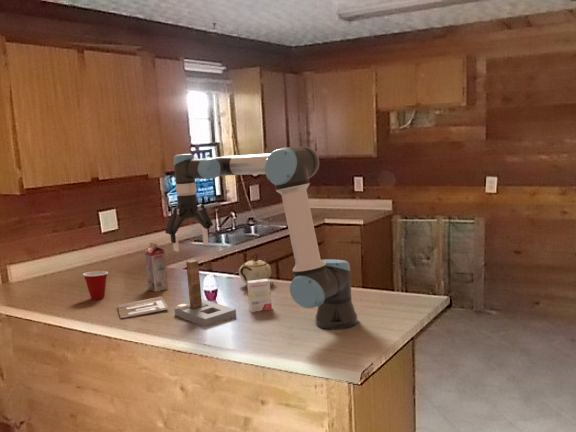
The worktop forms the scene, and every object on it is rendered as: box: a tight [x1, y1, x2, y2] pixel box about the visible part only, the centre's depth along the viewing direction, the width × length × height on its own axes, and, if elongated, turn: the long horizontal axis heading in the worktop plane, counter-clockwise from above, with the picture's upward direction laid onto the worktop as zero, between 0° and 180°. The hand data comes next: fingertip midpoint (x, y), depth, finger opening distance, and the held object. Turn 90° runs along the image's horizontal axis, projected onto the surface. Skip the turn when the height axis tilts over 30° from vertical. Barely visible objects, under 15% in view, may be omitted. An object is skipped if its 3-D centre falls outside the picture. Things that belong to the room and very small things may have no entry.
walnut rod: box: [185, 259, 203, 307], centre depth 226 cm, size 3×3×18 cm
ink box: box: [246, 278, 273, 313], centre depth 227 cm, size 9×5×12 cm, turn 103°
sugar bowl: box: [238, 252, 272, 286], centre depth 263 cm, size 20×15×15 cm
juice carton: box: [144, 242, 169, 293], centre depth 267 cm, size 7×7×22 cm
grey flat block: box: [174, 299, 237, 328], centre depth 223 cm, size 22×14×4 cm, turn 42°
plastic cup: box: [82, 270, 109, 301], centre depth 259 cm, size 11×11×12 cm
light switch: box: [117, 296, 169, 319], centre depth 238 cm, size 18×2×19 cm
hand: (191, 247), depth 224 cm, fingers open, 13 cm apart
